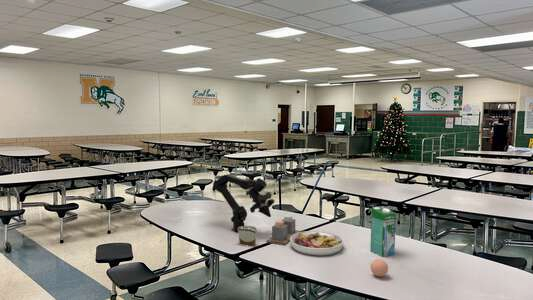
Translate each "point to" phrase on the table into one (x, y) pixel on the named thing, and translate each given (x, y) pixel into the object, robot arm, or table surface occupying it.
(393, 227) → the milk carton
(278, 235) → the button posts
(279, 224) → the terracotta button
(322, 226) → the table surface
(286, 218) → the sage button
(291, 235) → the walnut board
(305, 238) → the bowl
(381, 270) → the toy ball
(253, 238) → the food container
